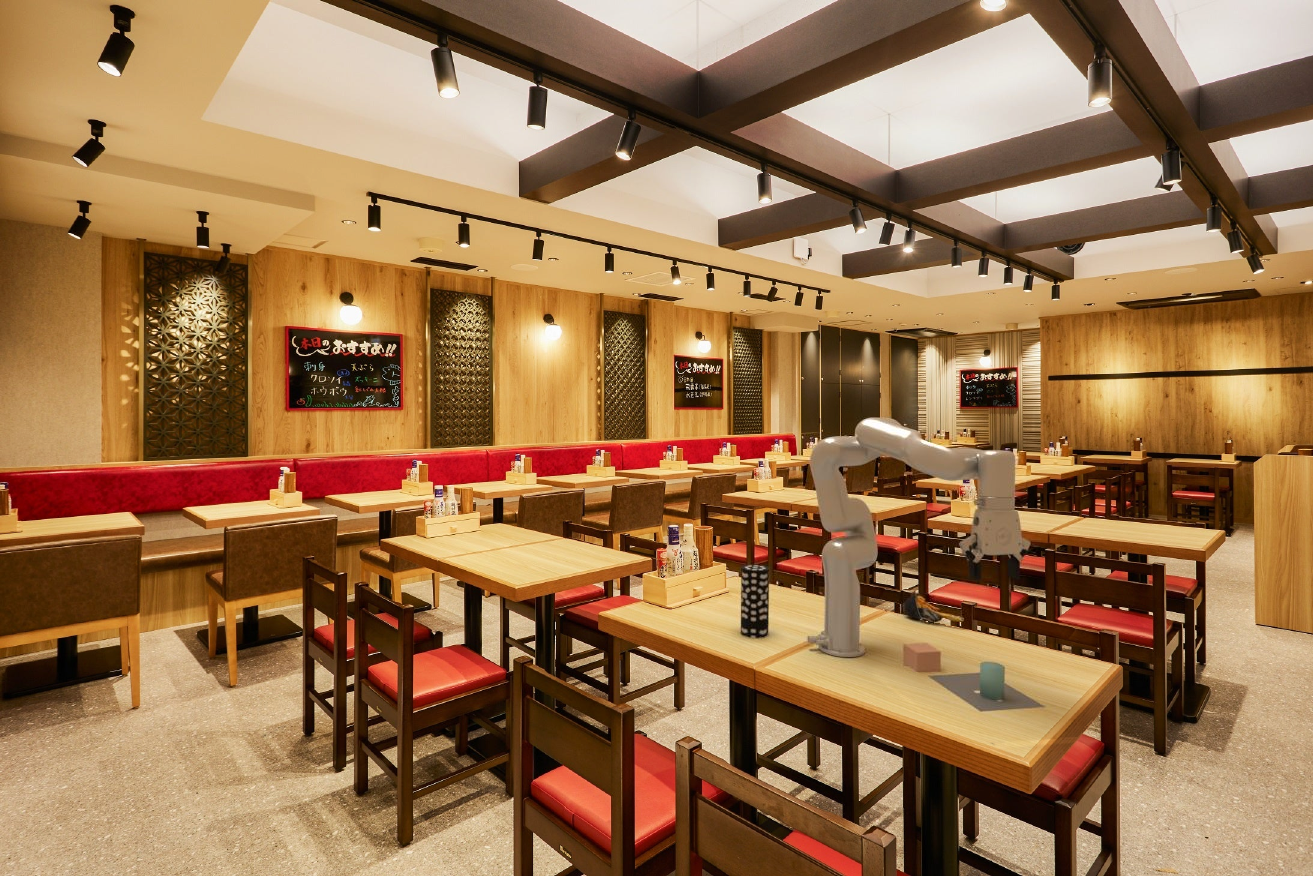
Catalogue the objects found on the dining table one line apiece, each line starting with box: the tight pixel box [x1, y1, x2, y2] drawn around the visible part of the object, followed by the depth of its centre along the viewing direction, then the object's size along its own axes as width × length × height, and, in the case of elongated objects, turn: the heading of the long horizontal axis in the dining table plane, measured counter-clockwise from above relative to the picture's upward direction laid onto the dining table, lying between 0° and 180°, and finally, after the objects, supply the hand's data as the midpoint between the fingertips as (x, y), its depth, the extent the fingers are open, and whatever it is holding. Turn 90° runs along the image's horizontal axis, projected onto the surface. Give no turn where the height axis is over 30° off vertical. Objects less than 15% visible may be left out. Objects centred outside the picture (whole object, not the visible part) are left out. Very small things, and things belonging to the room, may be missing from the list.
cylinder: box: [979, 661, 1006, 700], centre depth 149 cm, size 5×5×7 cm
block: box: [902, 642, 942, 673], centre depth 167 cm, size 6×6×6 cm
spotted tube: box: [740, 564, 770, 639], centre depth 195 cm, size 8×8×20 cm
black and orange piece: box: [902, 592, 965, 623], centre depth 208 cm, size 9×11×18 cm
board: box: [928, 672, 1046, 712], centre depth 152 cm, size 16×20×1 cm
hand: (994, 578), depth 148 cm, fingers open, 9 cm apart
